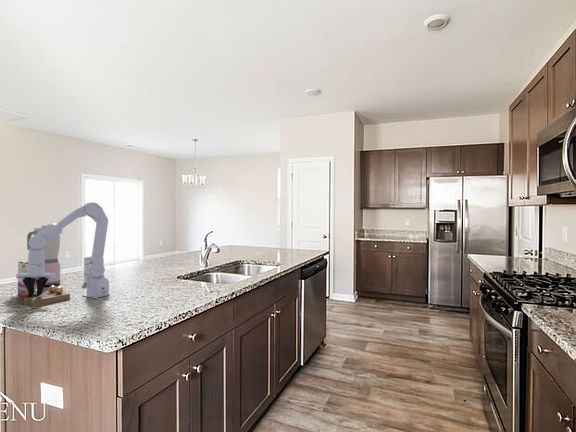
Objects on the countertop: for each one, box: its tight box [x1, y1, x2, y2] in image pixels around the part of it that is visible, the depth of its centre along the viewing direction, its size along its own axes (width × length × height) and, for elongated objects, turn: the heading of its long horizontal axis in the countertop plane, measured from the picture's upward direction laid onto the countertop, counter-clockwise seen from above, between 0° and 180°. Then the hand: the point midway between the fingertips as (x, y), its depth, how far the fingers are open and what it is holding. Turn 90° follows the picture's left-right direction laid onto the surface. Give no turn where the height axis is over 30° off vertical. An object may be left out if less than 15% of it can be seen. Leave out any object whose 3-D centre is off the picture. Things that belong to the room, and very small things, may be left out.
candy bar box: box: [17, 260, 40, 297], centre depth 153 cm, size 11×5×16 cm, turn 62°
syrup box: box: [83, 255, 92, 284], centre depth 187 cm, size 6×6×14 cm
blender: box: [26, 224, 61, 286], centre depth 176 cm, size 16×12×32 cm
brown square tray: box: [16, 290, 71, 308], centre depth 146 cm, size 14×14×2 cm
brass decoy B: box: [47, 285, 57, 293], centre depth 151 cm, size 3×3×3 cm
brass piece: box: [55, 286, 64, 294], centre depth 149 cm, size 3×3×3 cm
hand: (35, 294), depth 144 cm, fingers open, 3 cm apart
